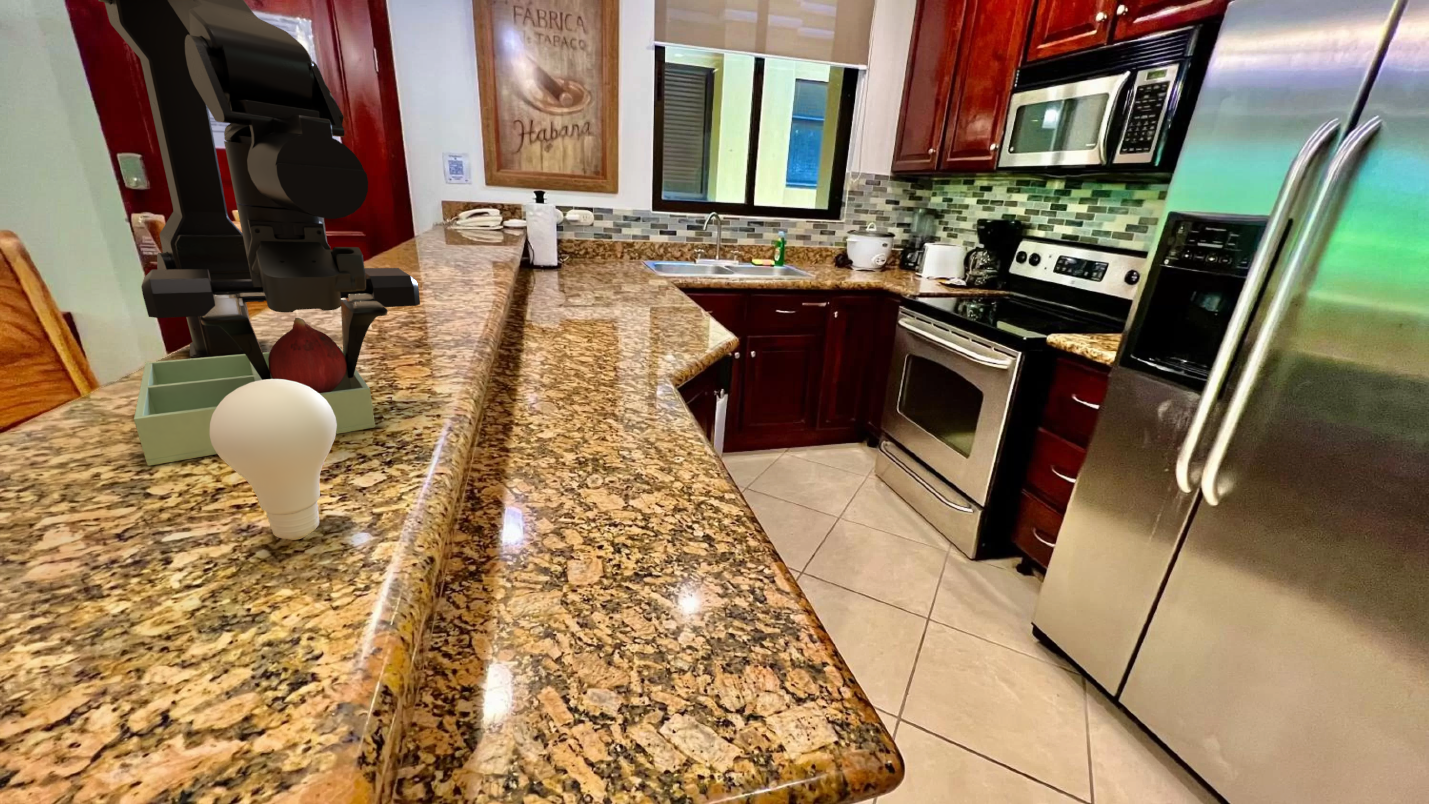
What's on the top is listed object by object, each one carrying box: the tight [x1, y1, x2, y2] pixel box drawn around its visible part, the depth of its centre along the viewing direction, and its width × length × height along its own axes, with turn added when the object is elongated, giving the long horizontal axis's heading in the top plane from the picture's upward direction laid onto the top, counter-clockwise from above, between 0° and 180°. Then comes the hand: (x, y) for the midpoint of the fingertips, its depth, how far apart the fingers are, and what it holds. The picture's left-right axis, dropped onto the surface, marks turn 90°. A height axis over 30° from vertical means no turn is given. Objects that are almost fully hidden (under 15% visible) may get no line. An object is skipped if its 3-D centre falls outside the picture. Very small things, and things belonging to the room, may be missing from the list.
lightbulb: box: [210, 379, 337, 541], centre depth 35 cm, size 6×6×11 cm
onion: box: [268, 317, 347, 393], centre depth 51 cm, size 6×6×8 cm
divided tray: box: [133, 345, 376, 467], centre depth 52 cm, size 16×16×4 cm
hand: (311, 381), depth 52 cm, fingers closed on onion, 6 cm apart
